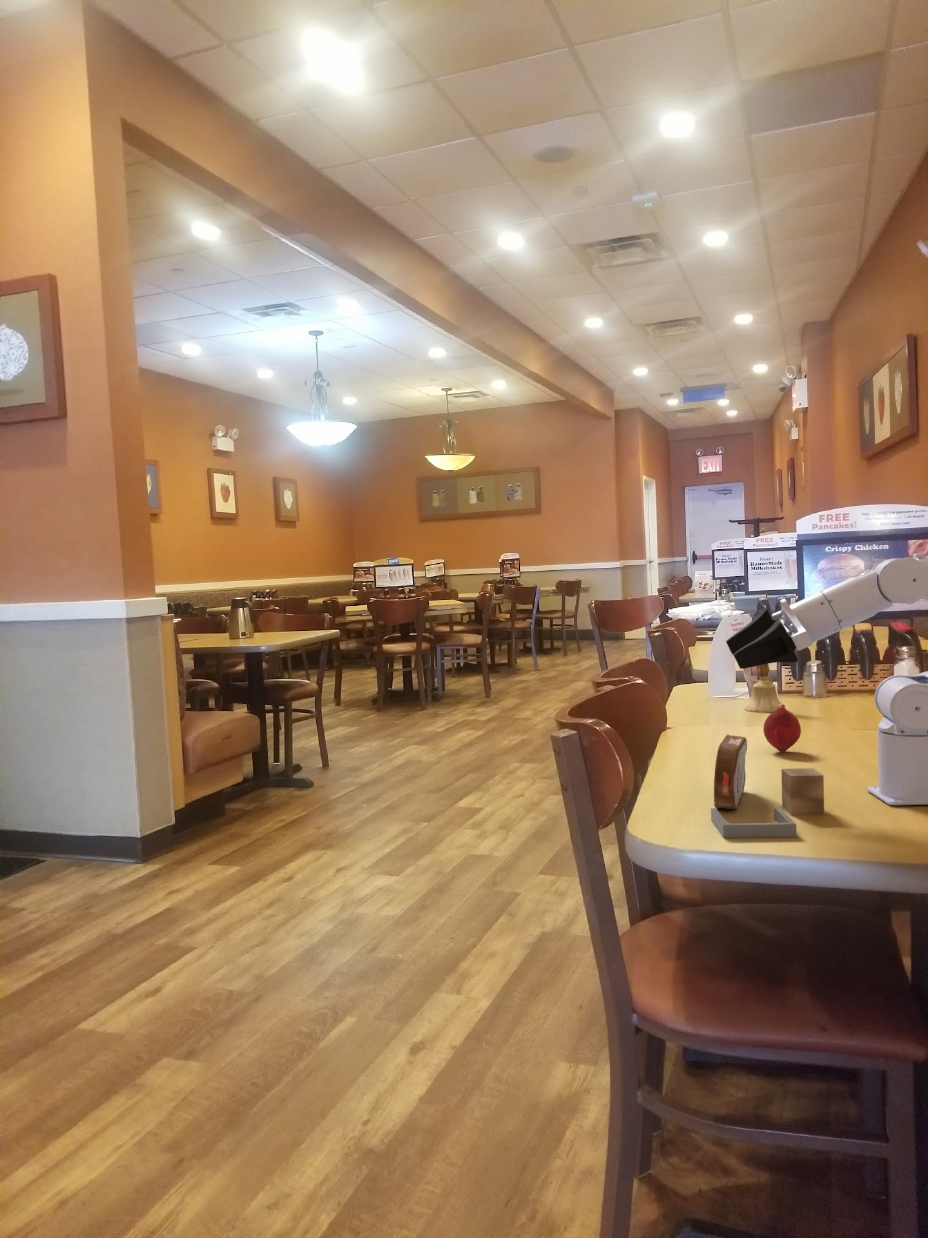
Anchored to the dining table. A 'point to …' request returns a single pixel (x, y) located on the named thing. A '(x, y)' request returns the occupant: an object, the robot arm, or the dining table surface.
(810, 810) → the walnut block
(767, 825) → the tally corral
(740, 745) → the tin
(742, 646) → the robot arm
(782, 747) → the onion
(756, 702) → the hand bell
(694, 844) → the dining table surface
